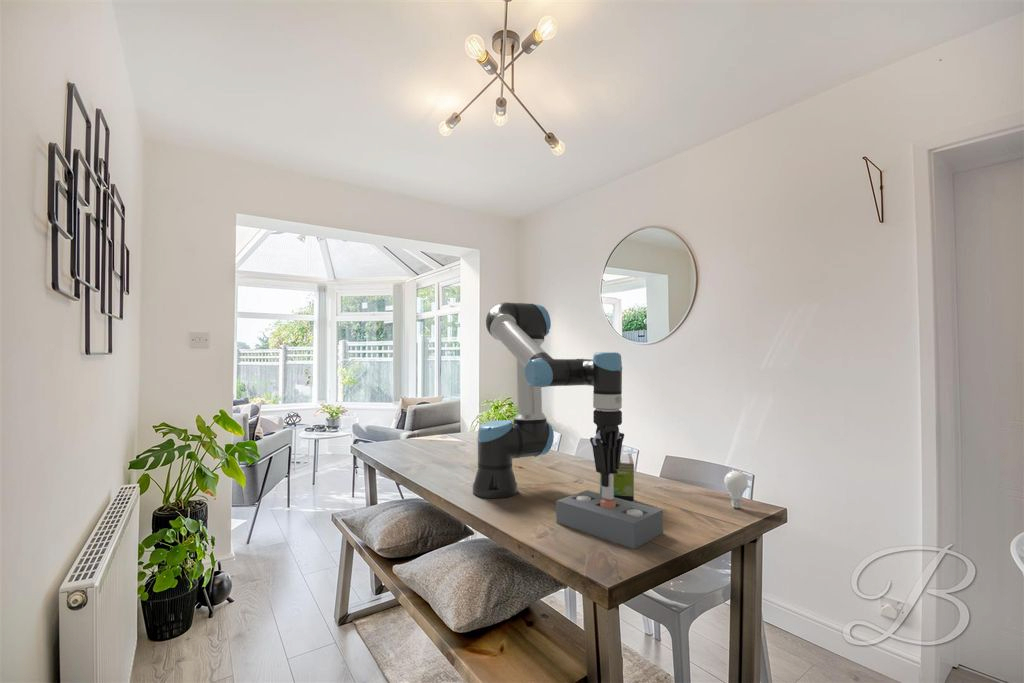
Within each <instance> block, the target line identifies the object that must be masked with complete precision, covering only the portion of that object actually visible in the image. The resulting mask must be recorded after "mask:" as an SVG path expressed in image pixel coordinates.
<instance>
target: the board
mask: <svg viewBox="0 0 1024 683" xmlns="http://www.w3.org/2000/svg"><path fill="white" fill-rule="evenodd" d="M577 496H588V497H590V498H591V500H590V501H588V502H583V501H579V500H576V497H577ZM601 499H605V498H603V497H602V494H600V492H595V491H593V490H587V489H586V490H584V491H581V492H577V493H575V494H572V495H569V496H566V497H563V498H560V499H558V500H556V504H555V505H556V506H555V507H556V508H555V510H556V521H555V522H556V523H557V524H559V525H563V526H566V527H568V528H571V529H573V530H577V531H580V532H583V533H585V534H589V535H591V536H595V537H598V538H600V539H603V540H606V541H608V542H611V543H615V544H617V545H621V546H624V547H626V548H630V549H632V550H635V549H637V548H638V547H641V546H642V545H644V544H646V543H648V542H650V541H652V540H653V539H655V538H657V537H659V536H661V535H662V534H664V515H663V514H664V512H663V508H657V507H653V506H650V505H646V504H642V503H638V502H635V501H634V502H631V501H627V500H623V499H619V498H615V497H614V499H613V500H615V501H616V507H615V508H613V509H607V508H604V507H600V500H601ZM629 509H636V510H640V511H642V512H643V515H642V516H640V517H636V516H632V515H629V514H627V513H626V511H627V510H629Z"/></svg>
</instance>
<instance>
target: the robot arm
mask: <svg viewBox="0 0 1024 683" xmlns="http://www.w3.org/2000/svg"><path fill="white" fill-rule="evenodd" d="M485 326H486V329H487V332H488V333H489V334H490V336H491V337H492V338H494V340H497V341H500V342H501V344H502V345H504V346H505V347H506V349H507V350H508V351H509V352H510V353H511V354H512V355H513V356H514V357H515V359H516V383H517V384H516V390H517V392H516V394H517V413H516V414H515V416H514V417H513V422H512V421H511V420H508V419H505V420H504V419H501V420H493V421H488V422H484V423H482V424H481V425H480V426H479V428H478V433H477V471H476V474H475V478H474V481H473V484H472V494H473V495H474V496H477V497H480V498H486V499H502V498H508V497H512V496H515V495H517V493H518V483H517V482H516V477H515V473H514V470H513V459H521V458H529V457H539V456H543V455H546V454H548V453H549V451H550V450H551V449H552V447H553V444H554V438H555V437H554V436H555V434H554V429H553V426H552V425H551V423H550V422H548V421H547V416H545V414H544V413H543V405H542V404H543V402H542V397H543V396H542V388H546V387H566V386H570V387H572V386H589V387H590V386H592V387H593V394H592V395H593V398H592V403H593V404H592V407H593V408H594V410H593V414H592V415H593V423H594V425H596V428H595V429H596V430H595V436H594V437H590V439H589V442H590V443H591V446H592V454H593V461H594V466H595V471H596V472H597V473H598V474H600V473H601V475H602V497H603V498H606V499H610V500H611V499H614V473H616V474H617V473H618V471H616V469H617V470H618V469H619V465H620V457H621V453H622V448H623V441H624V438H625V433H624V432H620V428H619V426H620V425H622V423H623V414H622V413H623V411H622V410H621V409H622V406H623V404H622V403H623V399H622V396H623V395H622V394H623V393H622V392H623V384H622V383H623V364H622V363H623V362H622V355H621V353H619V352H616V351H615V352H609V351H607V352H602V351H601V352H597V351H596V352H594V353H593V355H592V356H593V357H592V359H591V358H590V359H589V358H566V359H565V358H559V359H558V358H552V356H551V355H549V353H547V352H546V351H545V350H544V349H543V348H542V347H541V345H542V344H543V343H544V342H545V337H546V336H548V335H549V333H550V330H551V328H552V325H551V316H550V314H549V311H548V310H547V309H546V308H545V306H543V305H542V304H535V303H520V302H506V301H505V302H501V303H498V304H495V305H494V306H493V307H491V308H490V310H489V312H487V315H486V317H485Z"/></svg>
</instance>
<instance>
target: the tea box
mask: <svg viewBox="0 0 1024 683" xmlns="http://www.w3.org/2000/svg"><path fill="white" fill-rule="evenodd" d="M616 471H618V473H617V474H616V473H614V497H615V498H619V499H623V500H627V501H631V502H635V500H634V499H635V497H634V496H635V463H634V459H633V455H632V453H626V452H625V453H624V452H621V457H620V465H619V469H618V470H617V469H616ZM599 493H600V494H602V475H601V473H599Z"/></svg>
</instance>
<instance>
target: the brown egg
mask: <svg viewBox="0 0 1024 683" xmlns="http://www.w3.org/2000/svg"><path fill="white" fill-rule="evenodd" d="M600 507H604V508H607V509H613V508H615V507H616V501H615V500H613V499H611V500H610V499H606V498H605V499H601V500H600Z"/></svg>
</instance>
